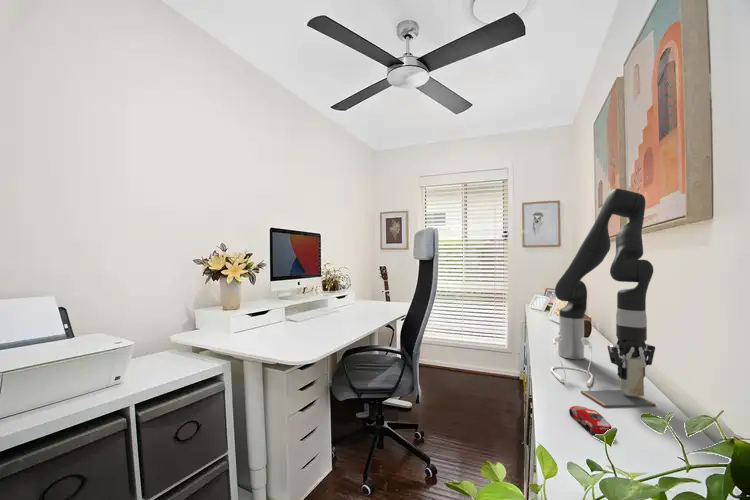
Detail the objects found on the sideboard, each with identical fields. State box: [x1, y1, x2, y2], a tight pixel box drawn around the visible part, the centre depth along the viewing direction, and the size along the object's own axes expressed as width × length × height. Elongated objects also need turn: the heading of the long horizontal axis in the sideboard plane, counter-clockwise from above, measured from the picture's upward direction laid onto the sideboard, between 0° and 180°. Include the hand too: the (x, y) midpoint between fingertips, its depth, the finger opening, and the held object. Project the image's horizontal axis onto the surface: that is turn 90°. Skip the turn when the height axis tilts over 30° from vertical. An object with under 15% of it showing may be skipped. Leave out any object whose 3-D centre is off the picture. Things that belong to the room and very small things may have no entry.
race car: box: [568, 405, 613, 435], centre depth 88 cm, size 13×5×4 cm, turn 176°
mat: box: [580, 389, 656, 408], centre depth 103 cm, size 10×16×1 cm, turn 93°
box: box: [619, 355, 645, 397], centre depth 103 cm, size 5×4×11 cm
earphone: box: [550, 334, 594, 388], centre depth 122 cm, size 14×17×18 cm
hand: (631, 378), depth 103 cm, fingers closed on box, 5 cm apart
